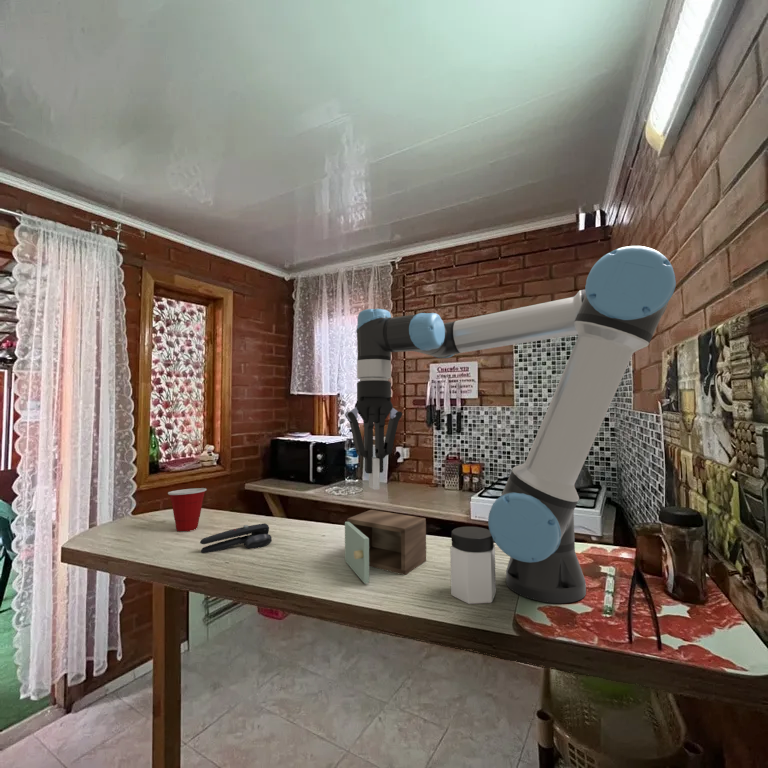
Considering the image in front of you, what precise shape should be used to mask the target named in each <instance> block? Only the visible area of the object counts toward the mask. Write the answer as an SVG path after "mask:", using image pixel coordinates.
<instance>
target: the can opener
mask: <svg viewBox="0 0 768 768" xmlns="http://www.w3.org/2000/svg"><path fill="white" fill-rule="evenodd" d="M269 532H270V526H269V524H267V523H257V524H252V525H247V524H245V525H243V526H241V527H238V528H233V529H230V530H226V531H225V530H224V531H222V532H218V533H216V534H212V535H209V536H205V537H203V538H202V539H200V542H199V544H201V545H205V546H203V547H202V548H201V550H200V552H201V553H203V554H206V553H207V554H208V553H213V552H218V550H219V551H222V550H225V549H227V548H231V547H234V546H237V545H243V544H244V546H245V547H246V548H247V549H249V548H254V549H258V547H260V548H263V547H266V546H267V545H269V544H270V543H272V535H271V534H269ZM223 540H224V541H223ZM219 541H220V542H219ZM214 542H216V543H214ZM211 543H213V544H211ZM206 544H208V545H206ZM209 544H210V545H209Z"/></svg>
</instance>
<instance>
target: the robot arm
mask: <svg viewBox="0 0 768 768" xmlns="http://www.w3.org/2000/svg"><path fill="white" fill-rule="evenodd" d="M674 271H675V270H674V268H673V265H672V264H671V262H670V260H669V259H668V258H667V257H666V256H665V255H664V254H662V253H661V252H660V251H658V250H656V249H654V248H651V247H647V246H642V245H629V246H622V247H619V248H616V249H614V250H612V251H609V252H608V253H606V254H604V255H603V256H602V257H600V258H599V259H598V260H597V261H596V262H595V263H594V265H593V266H592V268H591V269H590V271H589V272H588V275H587V278H586V281H585V288H584V289H580V290H579V291H578V292H577V293H576V294H575V295H573V296H571V297H566V298H561V299H557V300H552V301H546V302H542V303H537V304H532V305H528V306H521V307H518V308H512V309H507V310H501V311H498V312H493V313H488V314H487V313H486V314H482V315H478V316H474V317H473V316H472V317H468V318H464V319H459V320H454V321H449V322H444V320H443V319H442V318H441V316H440V315H439V314H438V313H436V312H429V313H428V312H427V313H425V312H419V313H417V314H410V315H409V314H407V315H401V316H394V317H392V315H391V313H390V311H389V310H387V309H383V308H382V309H381V308H367V309H364V310H363V309H362V310H361V311H360V312H359V313H358V314H357V324H356V331H355V332H356V338H357V339H356V343H357V344H356V345H357V347H356V348H357V358H356V359H357V360H356V363H357V364H356V369H357V370H356V372H357V373H356V378H357V379H358V380H359V381H357V383H356V402H355V405H354V408H352V409H351V410H349V411H345V413H344V416H345V418H346V420H347V421H348V422H349V426H350V432H351V436H352V439H353V445H354V447H355V448H354V449H355V452H356V454H357V455H358V456H360V457H363V458H364V472H365V474H368V488H370V489H371V490H380V480H381V479H380V474H381V473H383V472H384V459H385V458H386V457H387V456H389V455H391V454H392V453H393V448H394V443H395V438H396V434H397V429H398V423H399V421H400V419H401V418H402V416H403V412H402V411H398V410H397V409H396V408H394V407H393V406H394V405H393V403H392V399H391V398H392V382H391V381H389V380H390V379H391V378H392V357H391V356H392V353H401V352H402V353H403V352H416V353H418V354H419V353H421V354H424V355H429V356H432V357H434V358H437V359H448V358H451V357H453V356H455V355H459V354H463V353H468V352H469V353H470V352H477V351H480V350H488V349H494V348H500V347H506V346H512V345H520V344H526V343H532V342H537V341H538V342H539V341H545V340H550V339H557V338H558V339H559V338H564V337H571V336H577V335H578V336H577V339H576V342H575V344H574V345H573V346H574V347H573V349H572V351H571V354H570V355H569V358H568V360H567V362H566V364H565V368H564V370H563V373H562V374H561V377H560V379H559V380H558V381H559V382H558V384H557V386H556V389H555V391H554V393H553V396H552V398H551V401H550V403H549V405H548V408H547V410H546V412H545V415H544V417H543V419H542V421H541V424H540V426H539V428H538V431H537V433H536V435H535V438H534V441H533V443H532V445H531V447H530V450H529V452H528V454H527V457H526V459H525V462H524V463H521V464H519V465H516V466H513V467H512V470H511V472H510V474H509V477H508V479H507V480H506V483H505V486H504V488H503V490H502V492H501V495H500V496H499V497H497V499H496V500H495V501H494V502H493V503H492V504H491V507H490V510H489V513H488V517H487V519H488V521H487V522H488V523H487V524H488V525H487V526H488V530H490V533H491V535H492V537H493V540H494V544H496V546H497V547H498V548H499V549H500V550H501V552H503V553H504V554H506V556H509V559H508V563H507V566H506V571H505V577H506V578H505V579H506V580H505V581H506V585H507V587H508V588H509V589H510V590H511V591H513V592H514V593H516V594H518V595H519V596H521V597H523V598H527V599H530V600H533V601H538V602H543V603H549V604H550V603H551V604H568V603H574V602H578V601H580V600H582V599H584V598H585V597H586V594H587V585H586V578H585V576H584V574H583V569H582V566H581V564H580V561H579V559H578V556H577V554H576V546H575V544H576V543H575V541H576V539H575V538H576V537H575V513H574V511H575V508H576V507H577V504H578V502H579V500H580V496H579V494H578V492H577V489H576V488H575V484H576V481H577V480H578V478H579V475H580V473H581V471H582V468H583V467H584V464H585V462H586V460H587V457H588V455H589V453H590V450H591V448H592V446H593V444H594V441H595V440H596V437H597V435H598V432H599V431H600V428H601V426H602V425H603V422H604V419H605V417H606V415H607V413H608V410H609V409H610V406H611V404H612V401H613V399H614V397H615V394H616V392H617V390H618V388H619V386H620V385H621V382H622V378H623V377H624V375H625V372H626V370H627V368H628V367H629V363H630V361H631V359H632V356H633V354H634V353H636V352H637V351H639V350H642V349H645V348H646V347H648V346H649V345H650V343H651V341H652V339H653V336H654V334H655V332H656V330H657V327H658V325H659V323H660V321H661V318H662V316H663V315H664V314H665V312H666V310H667V307H668V304H669V301H670V299H671V298H672V297H673V295H674V292H675V290H676V285H677V282H676V274H675V272H674ZM388 416H389V421H388V424H387V429H386V432H385V425H386V419H387V418H388ZM358 417H360V418H361V420H362V421H363V431H364V432H363V434H364V435H363V437H362V433H361V428H360V423H359V420H358ZM374 456H375V457H374Z"/></svg>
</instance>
